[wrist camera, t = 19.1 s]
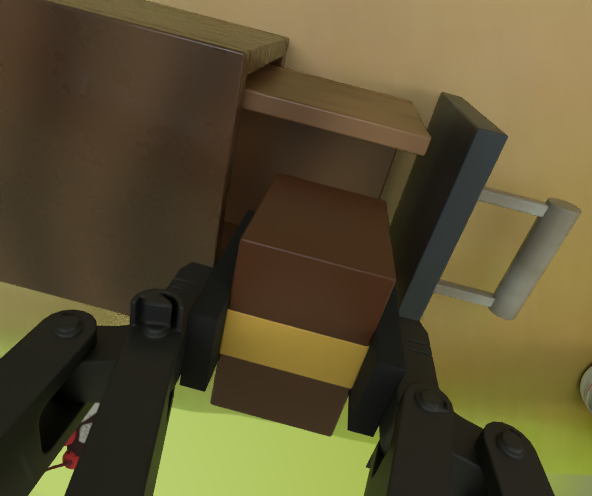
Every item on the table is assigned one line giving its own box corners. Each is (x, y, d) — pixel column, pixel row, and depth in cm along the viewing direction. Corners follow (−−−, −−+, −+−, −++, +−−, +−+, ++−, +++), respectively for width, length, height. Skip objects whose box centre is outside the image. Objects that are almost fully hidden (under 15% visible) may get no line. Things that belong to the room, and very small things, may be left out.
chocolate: (276, 171, 16) (238, 237, 11) (386, 200, 16) (397, 280, 11) (247, 306, 19) (208, 405, 14) (339, 331, 19) (332, 438, 14)
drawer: (565, 124, 23) (660, 175, 16) (470, 298, 29) (507, 394, 22) (211, 31, 23) (142, 40, 16) (190, 224, 29) (133, 294, 22)
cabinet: (289, 37, 24) (245, 52, 15) (249, 240, 30) (202, 336, 21) (24, -32, 24) (-180, -59, 15) (42, 185, 30) (-91, 257, 21)
